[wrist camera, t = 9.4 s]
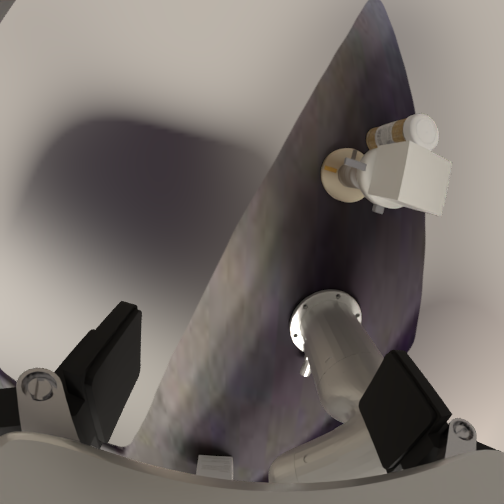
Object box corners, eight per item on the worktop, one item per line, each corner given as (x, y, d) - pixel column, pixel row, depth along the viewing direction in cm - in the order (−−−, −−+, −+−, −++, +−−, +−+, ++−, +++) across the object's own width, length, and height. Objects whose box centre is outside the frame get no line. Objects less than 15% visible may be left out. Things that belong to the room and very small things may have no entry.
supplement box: (201, 468, 58) (196, 510, 44) (198, 453, 56) (191, 499, 42) (233, 470, 59) (232, 512, 44) (233, 456, 56) (231, 502, 42)
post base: (362, 207, 40) (401, 220, 28) (314, 193, 39) (341, 201, 28) (374, 158, 38) (416, 155, 26) (327, 142, 37) (357, 130, 26)
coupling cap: (412, 152, 26) (459, 150, 18) (397, 219, 28) (441, 235, 20) (346, 126, 25) (382, 110, 17) (330, 198, 27) (361, 209, 19)
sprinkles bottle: (386, 159, 38) (437, 157, 25) (362, 149, 37) (408, 141, 25) (392, 133, 37) (442, 123, 24) (368, 122, 36) (414, 105, 23)
